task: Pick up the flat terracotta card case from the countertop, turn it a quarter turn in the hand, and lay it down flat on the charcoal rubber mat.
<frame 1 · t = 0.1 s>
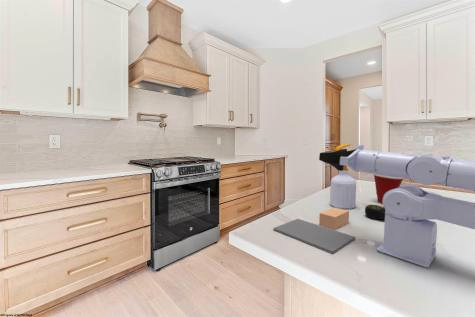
hand: (327, 155, 65), 22 cm above the countertop, fingers open, 7 cm apart
card case: (334, 224, 70), on the countertop
mat: (312, 234, 62), on the countertop
plastic cup: (386, 203, 93), on the countertop
soap bottle: (342, 206, 89), on the countertop
tape measure: (378, 218, 76), on the countertop
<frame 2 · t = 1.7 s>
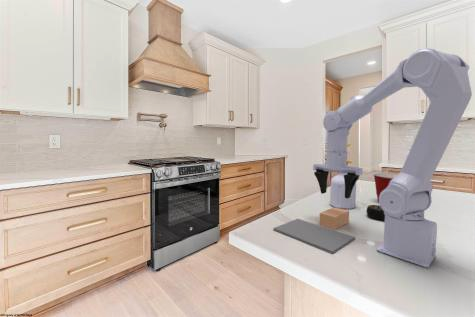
hand: (335, 195, 70), 9 cm above the countertop, fingers open, 7 cm apart
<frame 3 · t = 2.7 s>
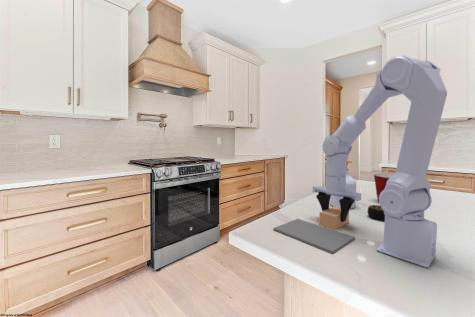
hand: (334, 218, 70), 2 cm above the countertop, fingers closed on card case, 5 cm apart
card case: (334, 223, 70), on the countertop, touching gripper
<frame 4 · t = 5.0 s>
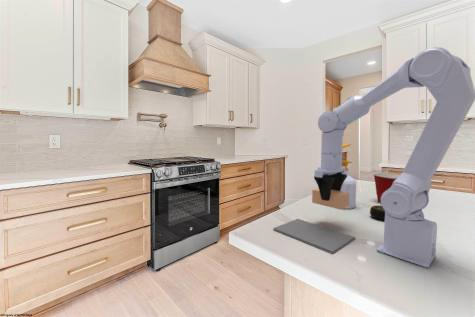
hand: (330, 198, 68), 9 cm above the countertop, fingers closed on card case, 5 cm apart
card case: (330, 204, 68), point 7 cm above the countertop, touching gripper
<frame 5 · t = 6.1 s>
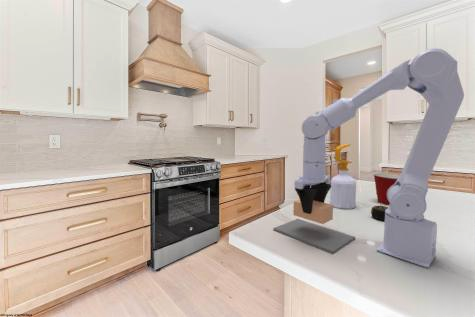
hand: (312, 210, 62), 7 cm above the countertop, fingers closed on card case, 5 cm apart
card case: (312, 217, 62), point 5 cm above the countertop, touching gripper
when the fingers open (4 cm above the countertop, at t = 7.1 s): card case drops 1 cm, resting on mat.
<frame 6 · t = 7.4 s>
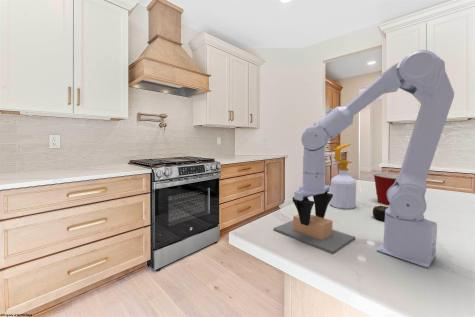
hand: (312, 221, 62), 4 cm above the countertop, fingers open, 7 cm apart
card case: (312, 232, 62), point 1 cm above the countertop, touching mat
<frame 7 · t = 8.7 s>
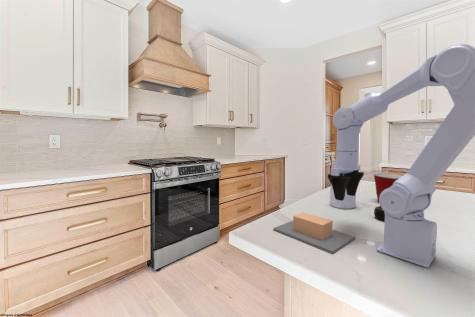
hand: (345, 197, 66), 9 cm above the countertop, fingers open, 7 cm apart
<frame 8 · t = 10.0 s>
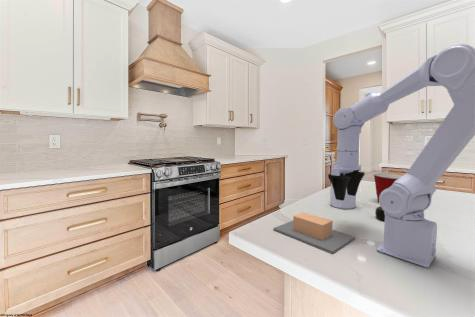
hand: (345, 197, 66), 9 cm above the countertop, fingers open, 7 cm apart
at the end: card case inside the target area (0.0 cm from its centre), point 0.6 cm above the countertop; card case tilted 0°; the gripper is holding nothing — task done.
